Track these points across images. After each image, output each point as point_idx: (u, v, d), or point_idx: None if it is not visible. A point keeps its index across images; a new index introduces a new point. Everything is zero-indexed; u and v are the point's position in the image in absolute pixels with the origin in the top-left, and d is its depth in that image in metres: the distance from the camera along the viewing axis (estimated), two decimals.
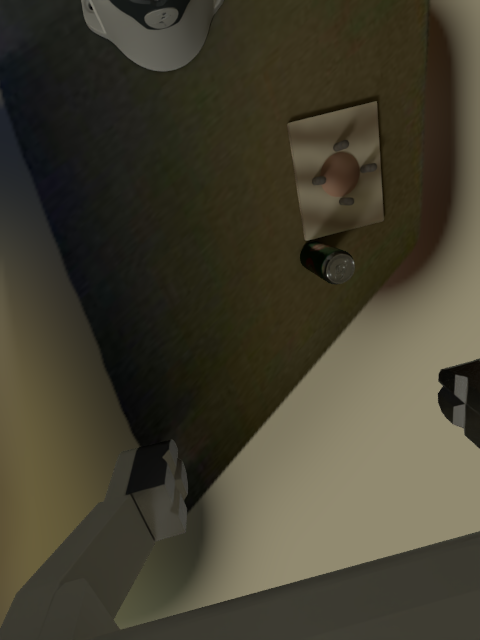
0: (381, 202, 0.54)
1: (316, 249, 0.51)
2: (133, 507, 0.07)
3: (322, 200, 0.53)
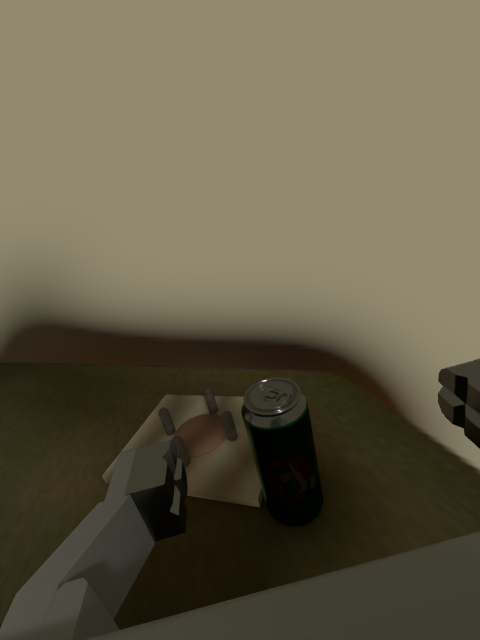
0: None
1: None
2: (133, 507, 0.07)
3: (214, 460, 0.34)
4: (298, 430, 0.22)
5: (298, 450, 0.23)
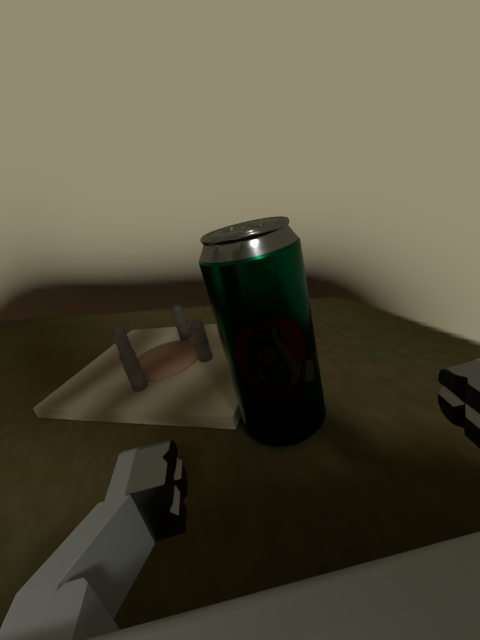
0: None
1: (223, 349, 0.17)
2: (133, 507, 0.07)
3: (179, 381, 0.25)
4: (285, 269, 0.14)
5: (286, 307, 0.15)
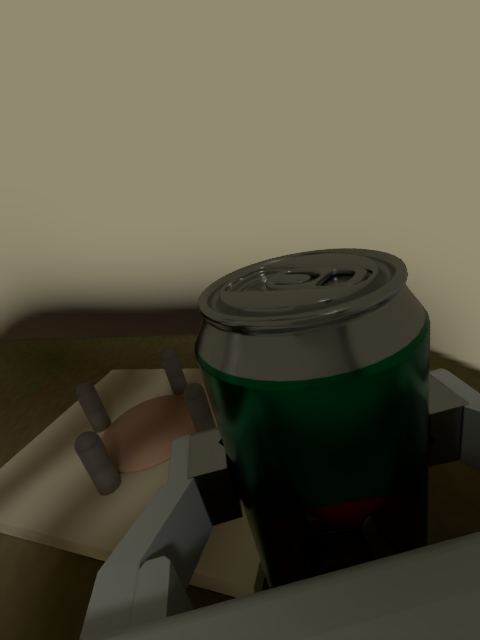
0: None
1: None
2: (195, 490, 0.07)
3: None
4: (409, 394, 0.06)
5: (400, 473, 0.06)
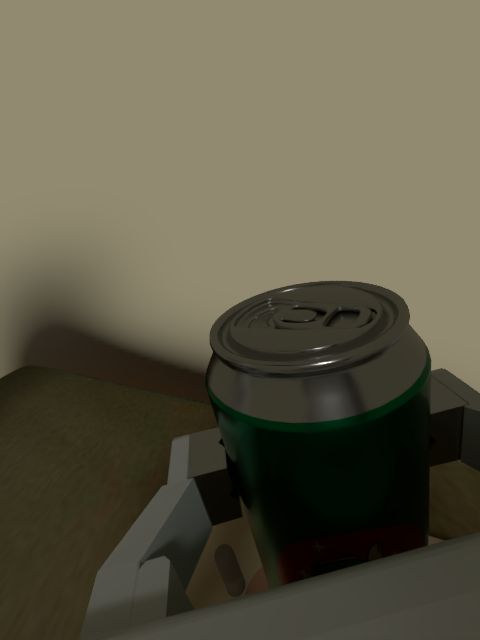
0: None
1: None
2: (195, 490, 0.07)
3: None
4: (413, 431, 0.06)
5: (404, 503, 0.06)
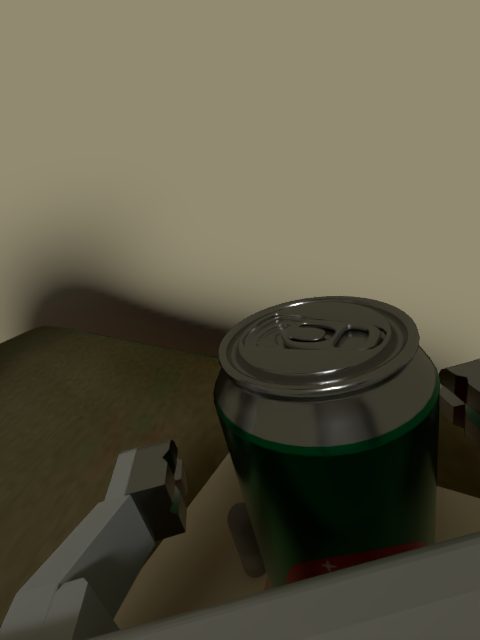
0: None
1: None
2: (133, 507, 0.07)
3: None
4: (424, 452, 0.06)
5: (414, 522, 0.06)
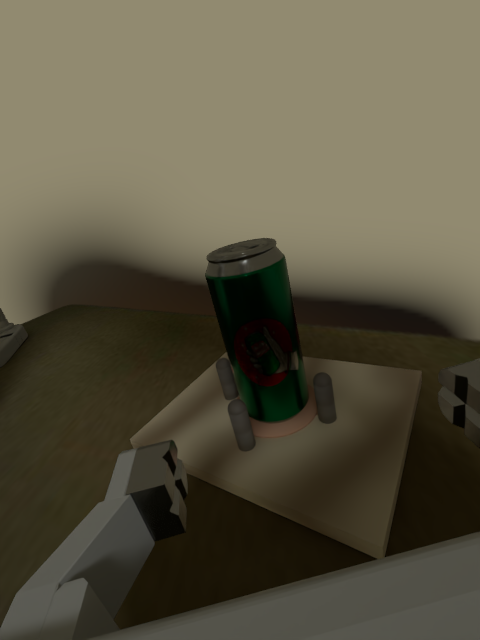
0: (377, 367, 0.26)
1: None
2: (133, 507, 0.07)
3: (296, 449, 0.20)
4: (273, 281, 0.18)
5: (274, 310, 0.19)
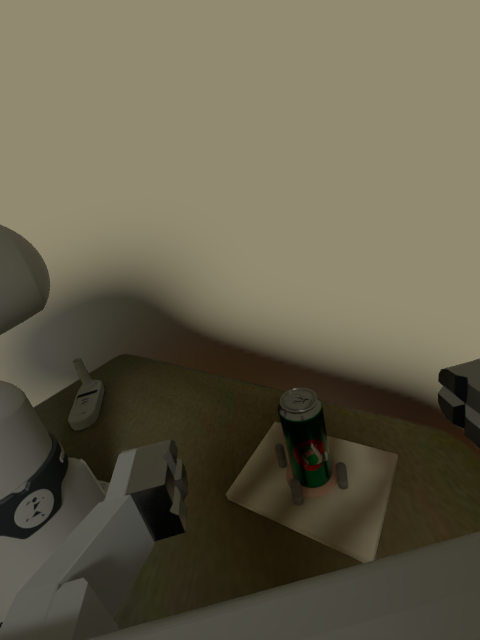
0: (371, 448, 0.43)
1: (286, 445, 0.38)
2: (133, 507, 0.07)
3: (327, 505, 0.37)
4: (317, 422, 0.35)
5: (317, 435, 0.36)
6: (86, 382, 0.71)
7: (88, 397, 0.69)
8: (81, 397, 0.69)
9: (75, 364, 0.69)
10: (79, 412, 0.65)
